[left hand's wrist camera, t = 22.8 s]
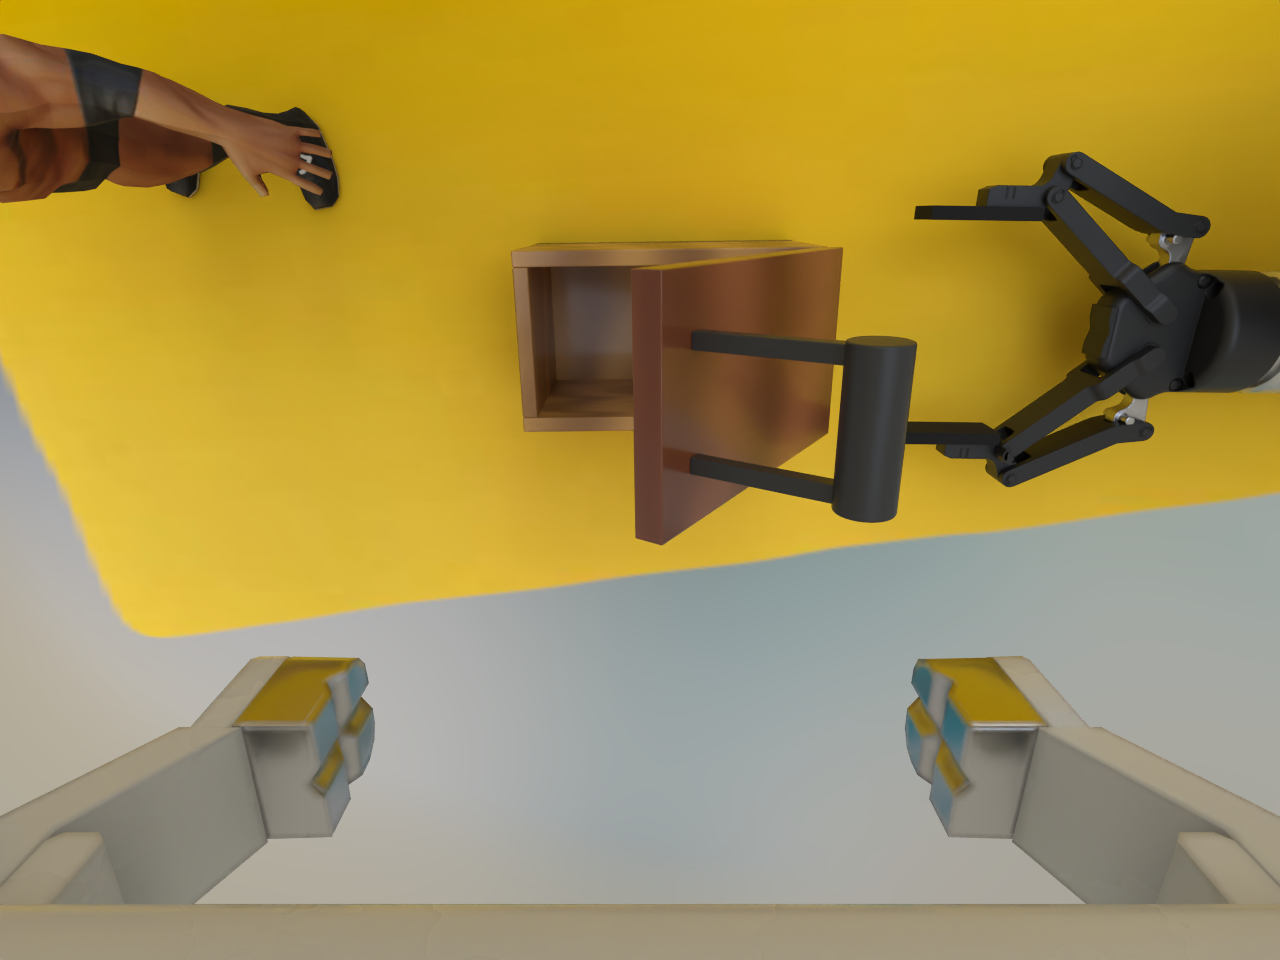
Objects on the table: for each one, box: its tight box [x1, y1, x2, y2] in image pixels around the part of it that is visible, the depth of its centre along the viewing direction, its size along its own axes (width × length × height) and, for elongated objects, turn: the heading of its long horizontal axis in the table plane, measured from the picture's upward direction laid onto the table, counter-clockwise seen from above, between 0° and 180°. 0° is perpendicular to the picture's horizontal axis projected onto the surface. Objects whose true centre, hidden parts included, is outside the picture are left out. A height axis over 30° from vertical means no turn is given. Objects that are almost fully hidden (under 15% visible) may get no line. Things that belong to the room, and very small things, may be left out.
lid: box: [631, 247, 917, 545], centre depth 31 cm, size 18×10×9 cm
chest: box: [511, 240, 826, 432], centre depth 46 cm, size 17×10×11 cm, turn 91°
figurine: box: [0, 34, 339, 210], centre depth 33 cm, size 24×6×30 cm, turn 85°
